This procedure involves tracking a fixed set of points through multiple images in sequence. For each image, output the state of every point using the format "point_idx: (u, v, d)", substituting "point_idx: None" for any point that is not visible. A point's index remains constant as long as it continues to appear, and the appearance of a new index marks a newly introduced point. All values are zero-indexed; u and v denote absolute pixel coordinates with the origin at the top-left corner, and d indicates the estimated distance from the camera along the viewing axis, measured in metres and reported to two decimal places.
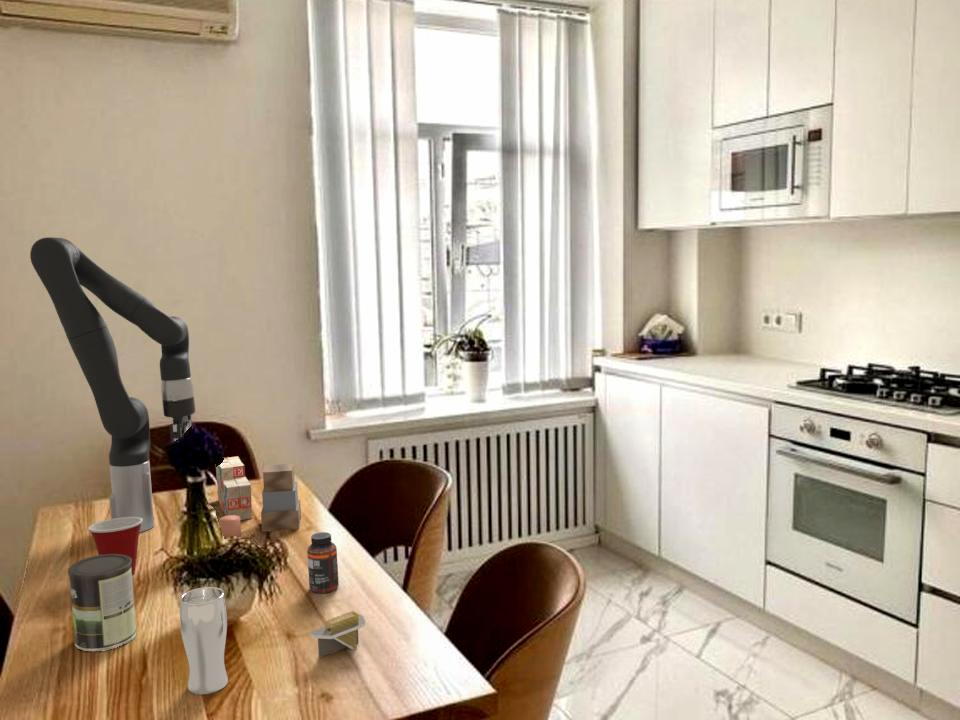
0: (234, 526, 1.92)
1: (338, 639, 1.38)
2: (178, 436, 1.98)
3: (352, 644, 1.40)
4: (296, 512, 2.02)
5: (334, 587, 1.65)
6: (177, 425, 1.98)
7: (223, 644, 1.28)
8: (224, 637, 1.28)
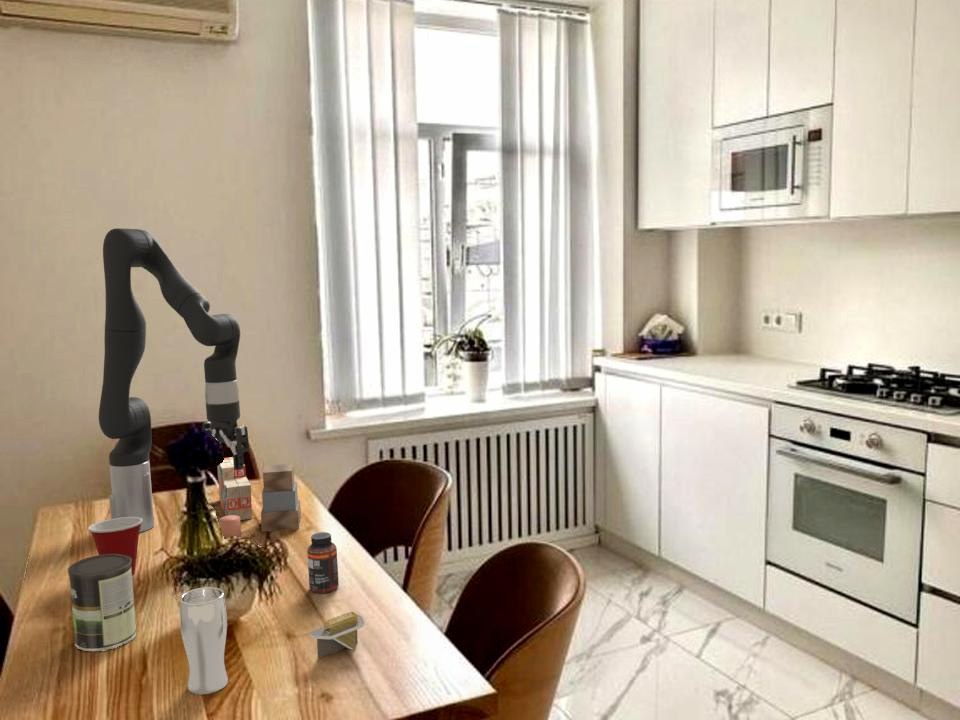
0: (234, 526, 1.92)
1: (337, 639, 1.38)
2: None
3: (351, 644, 1.40)
4: (296, 512, 2.02)
5: (334, 587, 1.65)
6: None
7: (223, 644, 1.28)
8: (224, 637, 1.28)
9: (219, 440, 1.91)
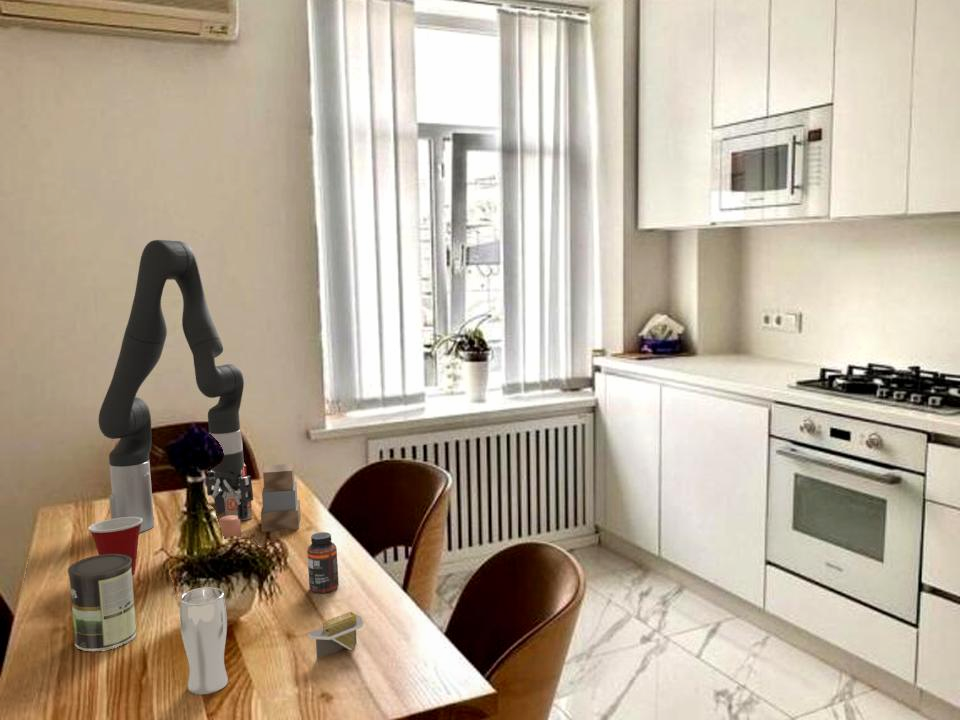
0: (234, 526, 1.92)
1: (336, 640, 1.38)
2: None
3: (350, 645, 1.39)
4: (296, 512, 2.02)
5: (334, 587, 1.65)
6: None
7: (223, 644, 1.28)
8: (224, 637, 1.28)
9: (223, 489, 1.92)
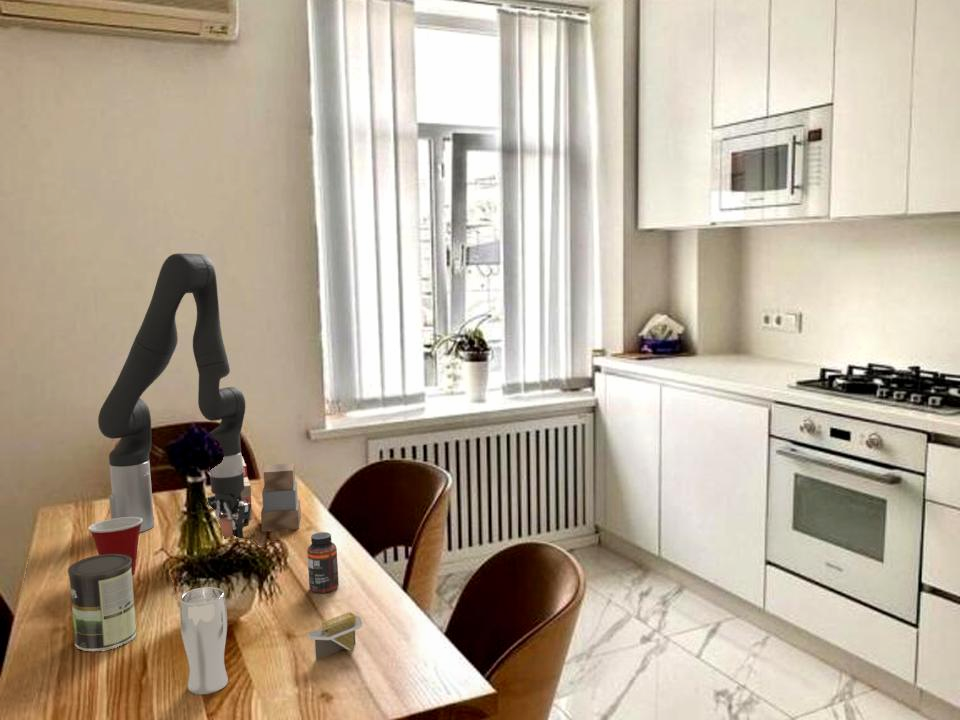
0: None
1: (335, 640, 1.38)
2: None
3: (349, 645, 1.39)
4: (296, 512, 2.02)
5: (334, 587, 1.65)
6: None
7: (223, 644, 1.28)
8: (224, 637, 1.28)
9: (225, 511, 1.92)
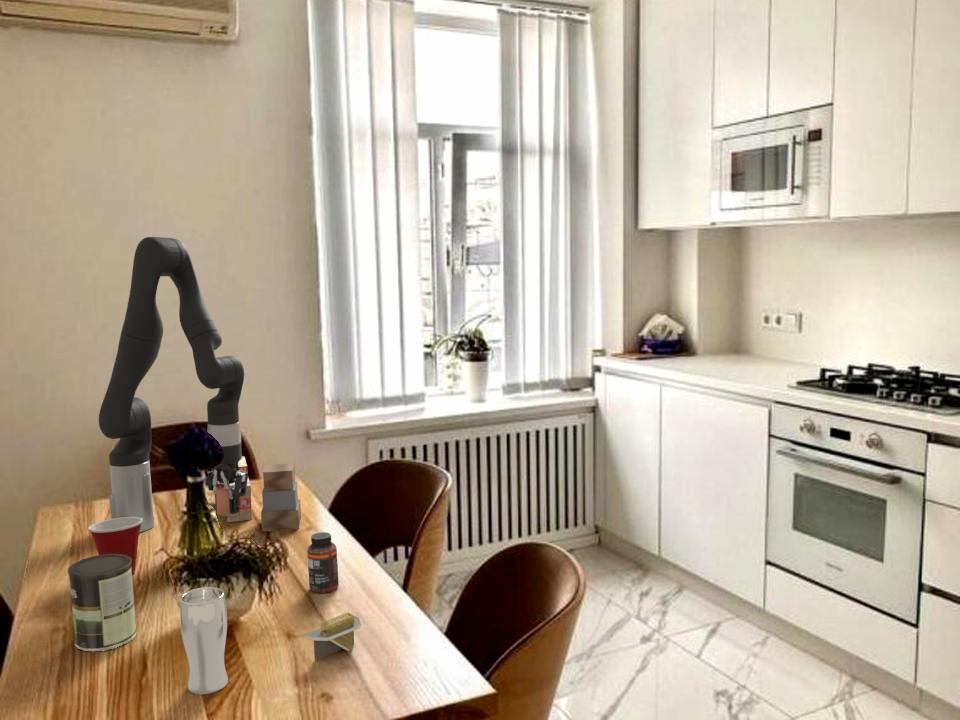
0: None
1: (334, 641, 1.37)
2: None
3: (348, 646, 1.39)
4: (296, 512, 2.02)
5: (334, 587, 1.65)
6: None
7: (223, 644, 1.28)
8: (224, 637, 1.28)
9: (222, 480, 1.91)
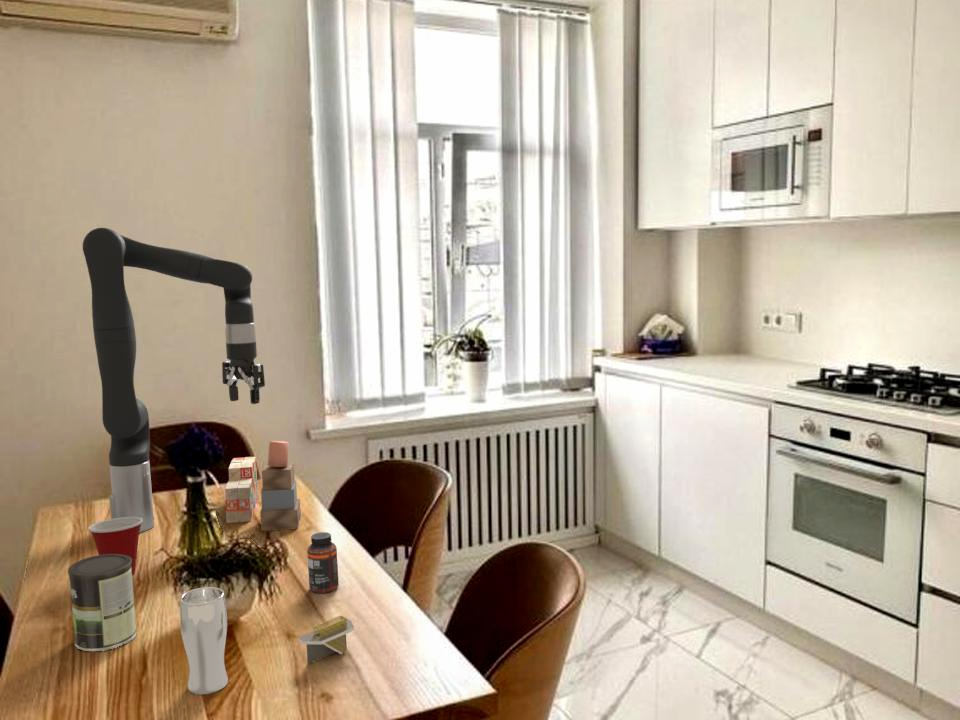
0: (281, 448, 2.03)
1: (327, 644, 1.36)
2: None
3: (341, 649, 1.38)
4: (295, 511, 2.03)
5: (334, 587, 1.65)
6: None
7: (223, 644, 1.28)
8: (224, 637, 1.28)
9: (237, 377, 2.11)
